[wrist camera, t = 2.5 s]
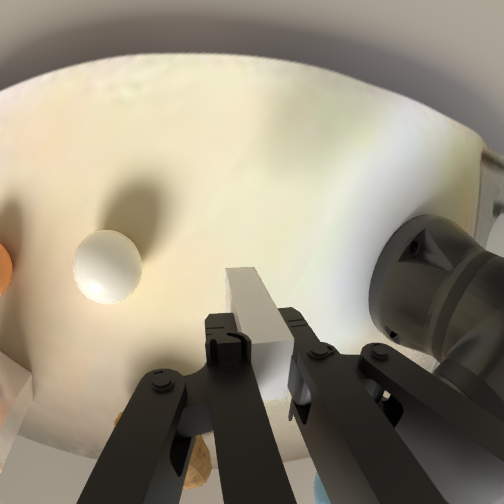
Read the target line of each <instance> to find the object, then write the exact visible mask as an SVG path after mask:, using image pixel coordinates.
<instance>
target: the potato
mask: <svg viewBox="0 0 504 504" xmlns="http://www.w3.org/2000/svg"><path fill="white" fill-rule="evenodd" d="M122 413H123V412H122ZM122 413H120V414H119V415H118V417H117V419H116V420H115V423H114V428H115V426H116V424H117V422H118V421H119V419H120V417H121V415H122ZM211 469H212V466H211V459H210V453H209V450H208V448H207V446H206V444H205V442H204V440H203V438H202V436H201V434H200V435H197V436H196V439H195V443H194V447H193V451H192V455H191V458H190V462H189V466H188V470H187V474H186V478H185V482H184V485H183V489H191V488H195V487H199V486H202V485H203V484H204V483H206V482H207V479H208V477H209V475H210V472H211Z"/></svg>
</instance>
